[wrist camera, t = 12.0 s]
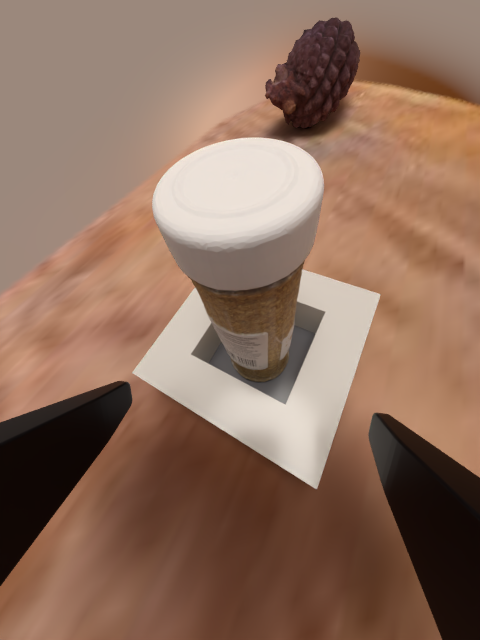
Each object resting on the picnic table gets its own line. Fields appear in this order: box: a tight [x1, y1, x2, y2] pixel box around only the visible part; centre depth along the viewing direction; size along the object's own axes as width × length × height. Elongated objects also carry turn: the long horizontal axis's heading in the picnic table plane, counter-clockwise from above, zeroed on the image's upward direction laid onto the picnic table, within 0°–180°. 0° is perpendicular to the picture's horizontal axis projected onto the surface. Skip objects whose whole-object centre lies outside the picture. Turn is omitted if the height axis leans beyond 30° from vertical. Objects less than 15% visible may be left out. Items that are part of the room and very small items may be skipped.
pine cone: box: [265, 18, 360, 128], centre depth 31 cm, size 18×10×10 cm, turn 131°
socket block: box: [132, 269, 381, 489], centre depth 16 cm, size 12×12×4 cm
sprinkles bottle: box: [152, 138, 324, 382], centre depth 11 cm, size 5×5×14 cm
